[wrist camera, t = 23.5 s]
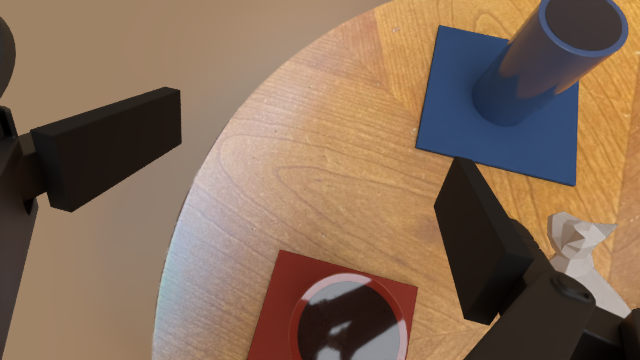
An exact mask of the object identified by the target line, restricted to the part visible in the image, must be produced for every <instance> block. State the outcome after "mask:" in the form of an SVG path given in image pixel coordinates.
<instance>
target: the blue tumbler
mask: <svg viewBox="0 0 640 360" xmlns="http://www.w3.org/2000/svg"><path fill="white" fill-rule="evenodd" d="M627 36H628V23H627V20H626V17H625V15H624V14H623V12H622V10H621V9H620V8H619V7H618V6H617V5H616V4H615V3H614V2H613V1H612V0H541V2H540V3H539V4H538V5H537V7H536V8H535V9H534V10H533V12H532V13H531V14H530V15H529V17H528V18H527V19H526V20H525V22H524V23H523V24H522V25H521V27H520V28H519V29H518V30H517V32H516V33H515V34H514V35H513V37H512V38H511V39H510V40H509V42H508V43H507V44H506V45H505V47H504V48H503V49H502V50H501V52H500V53H499V54H498V55H497V57H496V58H495V59H494V60H493V62H492V63H491V64H490V65H489V67H488V68H487V69H486V70H485V72H484V73H483V74H482V75H481V77H480V78H479V79H478V80H477V82H476V83H475V85H474V87H473V90H472V100H473V104H474V106H475V108H476V110H477V111H478V112H479V114H480V115H481V116H482V117H484V118H485V119H486V120H488V121H490V122H491V123H494V124H496V125H500V126H515V125H519V124H521V123H523V122H524V121H526V120H527V119H529V118H530V117H531V116H532V115H534V114H535V113H536V112H538V111H539V110H540V109H542V108H543V107H544V106H546V105H547V104H548V103H550V102H551V101H552V100H553V99H555V98H556V97H557V96H559V95H560V94H561V93H563V92H564V91H565V90H567V89H568V88H569V87H571V86H572V85H573V84H574V83H576V82H577V81H578V80H580V79H581V78H582V77H584V76H585V75H586V74H588V73H589V72H590V71H592V70H593V69H594V68H595V67H597V66H598V65H599V64H601V63H602V62H603V61H605V60H606V59H607V58H609V57H610V56H611V55H613V54H614V53H615V52H616V51H618V50H619V49H620V48H621V47H622V46H623V45H624V43H625V42H626V39H627Z"/></svg>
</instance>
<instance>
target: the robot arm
mask: <svg viewBox="0 0 640 360" xmlns="http://www.w3.org/2000/svg"><path fill="white" fill-rule="evenodd" d="M181 141H182V140H181V102H180V90H177V89H173V88H168V87H163V88H160V89H156V90H153V91H150V92H147V93H144V94H141V95H138V96H135V97H131V98H128V99H125V100H122V101H119V102H116V103H113V104H109V105H106V106H103V107H100V108H97V109H94V110H91V111H88V112H84V113H81V114H79V115H75V116H72V117H69V118H66V119H63V120H59V121H57V122H53V123H50V124H47V125H44V126H41V127H37V128H34V129H31V130H30V132H29V133H26V134H23V135H20V136H18V134H17V131H16V128H15V124H14V120H13V117H12V114H11V110H10V109H9V108H7V107H5V106H0V360H2V356H3V352H4V348H5V343H6V339H7V335H8V331H9V327H10V323H11V319H12V314H13V310H14V306H15V302H16V298H17V294H18V290H19V286H20V282H21V277H22V273H23V269H24V265H25V261H26V257H27V253H28V249H29V244H30V240H31V236H32V232H33V228H34V224H35V219H36V215H37V211H38V203H37V199H36V197H37V196H39V195H40V194H43V193H45V192H47V195H48V199H49V202H50V206H51V207H53V208H57V209H60V210H64V211H68V212H73V211H75V210H76V209H78V208H79V207H81V206H83V205H84V204H86V203H87V202H89V201H91V200H92V199H94V198H95V197H97V196H99V195H100V194H102V193H103V192H105V191H107V190H108V189H110V188H111V187H113V186H115V185H116V184H118V183H119V182H121V181H123V180H124V179H126V178H127V177H129V176H130V175H132V174H134V173H135V172H137V171H138V170H140V169H142V168H143V167H145V166H146V165H148V164H149V163H151V162H153V161H154V160H156V159H158V158H159V157H161V156H162V155H164V154H165V153H167V152H169V151H170V150H172V149H173V148H175V147H177V146H178V145H180V144H181V143H182V142H181ZM434 209H435V213H436V217H437V221H438V224H439V228H440V232H441V235H442V239H443V243H444V246H445V250H446V254H447V257H448V261H449V265H450V268H451V272H452V276H453V279H454V283H455V287H456V291H457V294H458V298H459V302H460V305H461V309H462V313H463V316H464V319H466V320H470V321H474V322H477V323H481V324H485V325H488V326H489V325H490V324H491V322H492V321H493V320H494V318H495V317H496V315H497V314H498V312H499V314H500V318H499V320H498V321H497V322H496V323H495V324H494V325H493V326H492V327H491V329H490V330H489V331H488V332H487V333H486V334H485V335H484V337H483V338H482V339H481V340H480V341H479V342H478V343H477V345H476V346H475V347H474V348H473V349H472V350H471V351H470V353H469V354H468V355H467V356H466V357H465V358H464V359H463V360H640V308H637V309H633V310H632V311H631V312H630V313H629V314H628V315H627V316H626V317H625V318H623V317H620V316H618V315H616V314H614V313H612V312H609V311H607V310H605V309H603V308H600V307H598V306H596V299H595V298H594V296H593V294H592V293H591V292H590V291H589V290H588V289H587V288H586V287H585V286H584V285H583V284H581V283H580V282H578V281H577V280H575V279H574V278H572V277H570V276H568V275H566V274H564V273H562V272H559V271H556V270H555V269H554V268H553V266H552V265H551V263H550V262H549V260H548V259H547V257H546V256H545V254H544V253H543V251H542V250H541V249H539V246H538V244H537V243H536V241H534V238H533V237H532V235H531V234H530V232H529V231H528V230H527V229H526V228H525V227H524V226H523V225H522V224H520V223H519V222H518V221H517V220H515V219H511V218H509V217H508V215H507V214H506V212H505V210H504V209H503V207H502V206H501V204H500V203H499V201H498V199H497V198H496V196H495V195H494V193H493V192H492V190H491V188H490V187H489V185H488V184H487V182H486V180H485V179H484V177H483V176H482V174H481V173H480V171H479V169H478V168H477V166H476V165H475V163H474V161H473V160H472V159H468V158H463V157H459V156H455V157H454V160H453V162H452V164H451V167H450V169H449V171H448V174H447V176H446V178H445V181H444V183H443V185H442V188H441V190H440V192H439V195H438V197H437V199H436V202H435V204H434Z"/></svg>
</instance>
